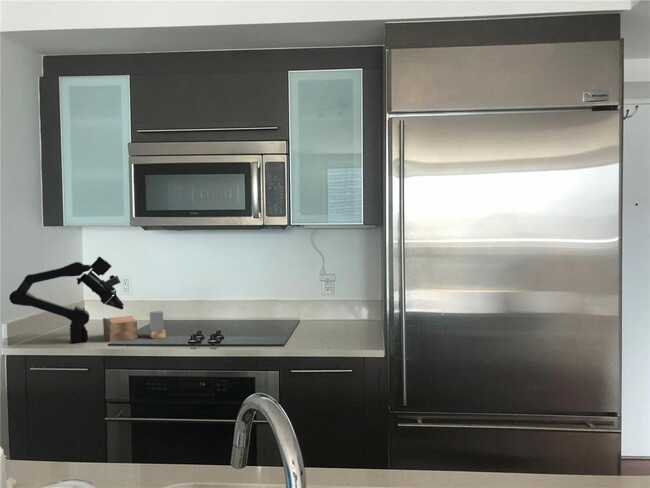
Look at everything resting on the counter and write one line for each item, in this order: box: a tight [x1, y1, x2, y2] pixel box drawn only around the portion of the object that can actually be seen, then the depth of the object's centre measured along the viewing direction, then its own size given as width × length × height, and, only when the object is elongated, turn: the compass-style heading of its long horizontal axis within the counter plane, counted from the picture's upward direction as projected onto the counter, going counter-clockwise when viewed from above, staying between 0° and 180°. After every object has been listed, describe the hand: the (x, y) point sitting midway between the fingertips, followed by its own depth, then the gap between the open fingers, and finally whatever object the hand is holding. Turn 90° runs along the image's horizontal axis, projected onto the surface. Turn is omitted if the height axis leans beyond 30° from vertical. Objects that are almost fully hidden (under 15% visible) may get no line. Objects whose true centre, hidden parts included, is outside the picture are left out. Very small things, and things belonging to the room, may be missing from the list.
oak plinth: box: [148, 329, 167, 339], centre depth 253 cm, size 6×6×3 cm
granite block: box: [149, 310, 165, 332], centre depth 253 cm, size 5×5×8 cm
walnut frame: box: [102, 317, 139, 343], centre depth 253 cm, size 12×13×8 cm
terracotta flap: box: [106, 315, 136, 324], centre depth 253 cm, size 10×10×1 cm
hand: (122, 307), depth 254 cm, fingers open, 9 cm apart
